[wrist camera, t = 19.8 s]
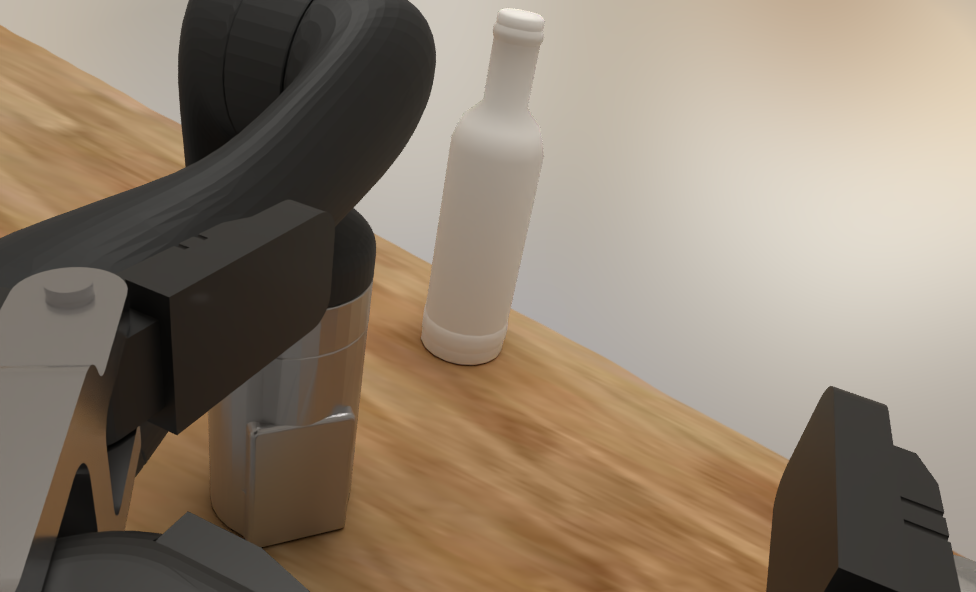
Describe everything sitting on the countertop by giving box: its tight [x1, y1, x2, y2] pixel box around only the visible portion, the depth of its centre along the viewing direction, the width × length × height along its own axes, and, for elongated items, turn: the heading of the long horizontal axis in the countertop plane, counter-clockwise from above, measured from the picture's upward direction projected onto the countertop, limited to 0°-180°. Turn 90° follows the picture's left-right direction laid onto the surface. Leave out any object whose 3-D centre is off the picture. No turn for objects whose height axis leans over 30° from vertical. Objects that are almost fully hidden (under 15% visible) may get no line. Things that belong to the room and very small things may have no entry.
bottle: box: [421, 8, 545, 365], centre depth 63 cm, size 8×8×30 cm
